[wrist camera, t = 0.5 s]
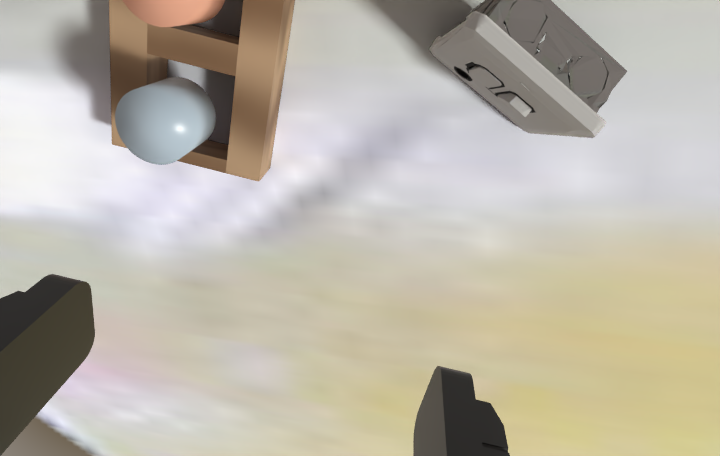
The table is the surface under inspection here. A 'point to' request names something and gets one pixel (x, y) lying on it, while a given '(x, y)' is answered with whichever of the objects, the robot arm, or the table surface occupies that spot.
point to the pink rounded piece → (174, 11)
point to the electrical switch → (532, 66)
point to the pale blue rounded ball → (165, 119)
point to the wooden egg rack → (218, 53)
